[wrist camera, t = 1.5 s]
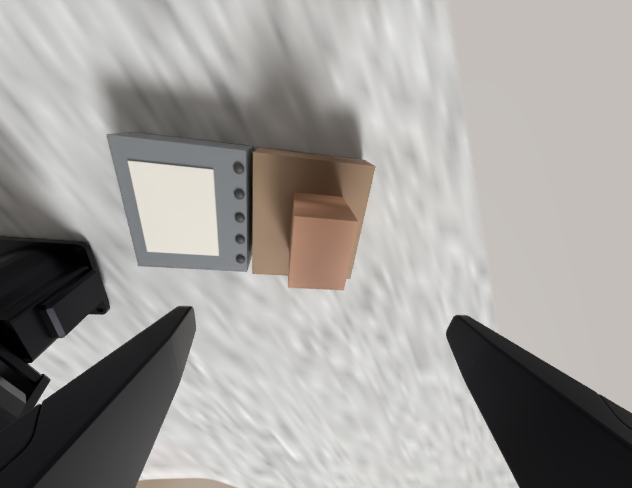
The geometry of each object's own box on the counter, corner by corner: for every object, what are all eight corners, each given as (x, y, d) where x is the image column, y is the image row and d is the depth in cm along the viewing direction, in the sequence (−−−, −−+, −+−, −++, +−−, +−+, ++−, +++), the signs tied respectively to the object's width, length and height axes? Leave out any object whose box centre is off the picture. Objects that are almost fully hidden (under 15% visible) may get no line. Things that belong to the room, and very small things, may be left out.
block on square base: (257, 255, 19) (241, 314, 13) (258, 147, 16) (238, 164, 10) (343, 261, 20) (364, 318, 14) (364, 160, 16) (402, 182, 11)
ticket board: (157, 248, 18) (137, 266, 16) (134, 131, 15) (105, 134, 12) (252, 254, 19) (246, 272, 17) (252, 146, 16) (245, 151, 13)
